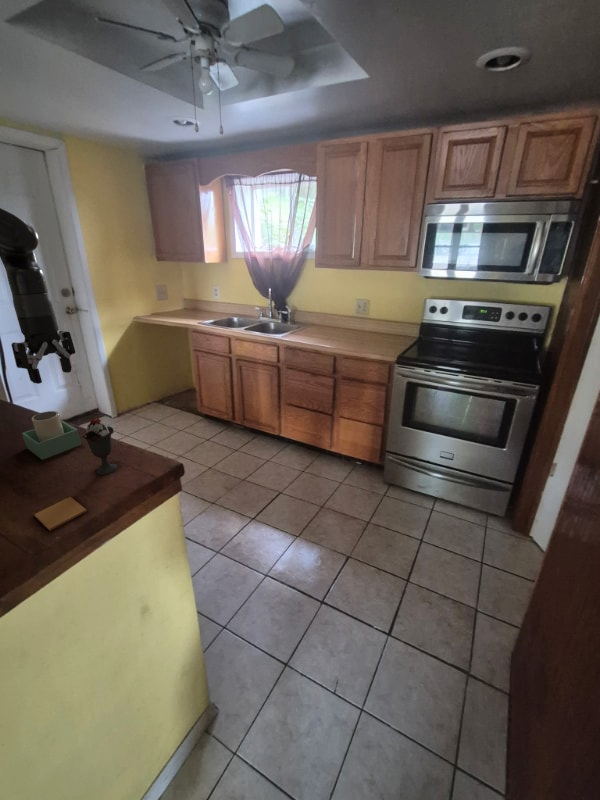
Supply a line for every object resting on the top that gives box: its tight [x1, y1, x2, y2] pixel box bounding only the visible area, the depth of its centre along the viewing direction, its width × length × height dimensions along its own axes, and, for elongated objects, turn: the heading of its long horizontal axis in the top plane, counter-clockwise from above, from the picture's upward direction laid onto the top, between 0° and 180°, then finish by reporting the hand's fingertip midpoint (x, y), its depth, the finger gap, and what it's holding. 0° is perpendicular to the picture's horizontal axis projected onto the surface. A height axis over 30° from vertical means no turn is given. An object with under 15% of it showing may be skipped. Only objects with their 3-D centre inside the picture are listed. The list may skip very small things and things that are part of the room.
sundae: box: [81, 409, 118, 476], centre depth 87 cm, size 7×7×15 cm
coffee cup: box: [31, 410, 65, 443], centre depth 97 cm, size 6×6×9 cm
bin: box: [21, 419, 82, 461], centre depth 98 cm, size 10×10×5 cm
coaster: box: [33, 496, 88, 532], centre depth 75 cm, size 7×7×1 cm
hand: (52, 377), depth 93 cm, fingers open, 8 cm apart
